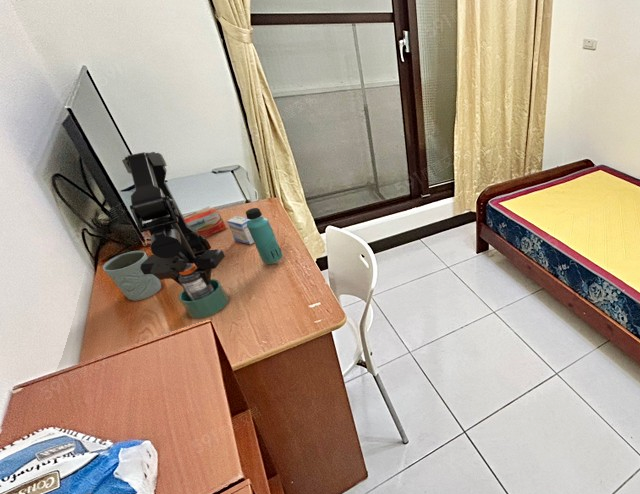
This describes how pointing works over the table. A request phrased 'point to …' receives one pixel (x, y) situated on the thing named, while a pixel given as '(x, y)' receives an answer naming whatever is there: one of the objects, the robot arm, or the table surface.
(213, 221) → the medicine box
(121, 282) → the grey green planter pot
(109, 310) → the table surface
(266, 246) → the beverage bottle
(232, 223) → the medicine box
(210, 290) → the pill bottle
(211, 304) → the green bowl
